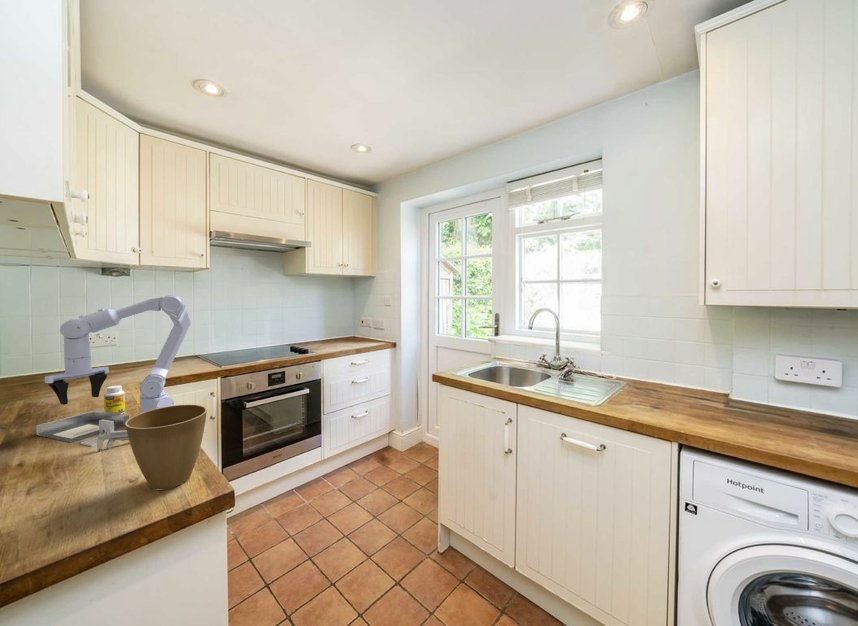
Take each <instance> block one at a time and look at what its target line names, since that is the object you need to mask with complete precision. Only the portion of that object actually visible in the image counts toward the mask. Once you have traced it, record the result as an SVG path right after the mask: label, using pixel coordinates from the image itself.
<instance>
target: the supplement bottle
mask: <svg viewBox="0 0 858 626" xmlns="http://www.w3.org/2000/svg"><path fill="white" fill-rule="evenodd" d="M122 388H123V387H122V385H111V386H108V387H106V392H105V393H103V401H104V402H103V403H104V404H103V405H104V407H103V408H104V411H106V412H113V413H119V414H123V413H124V414H125V413H126V392H125V391H124V390H123V389H122Z"/></svg>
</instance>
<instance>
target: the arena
mask: <svg viewBox="0 0 858 626" xmlns="http://www.w3.org/2000/svg"><path fill="white" fill-rule="evenodd" d="M102 419H103V420H109V421H114V430H116V429H118V428H121V427H122V428H123V427H126V426H125V422H126V421H127V420H128V419H130V417H129V414H125V413H124V414H119V413H113V412H106V411H105V410H99V409H95V410H91V411H87V412H82V413H78V414H75V415H71V416H67V417H64V418H60V419H56V420H52V421H49V422H45V423H40V424H36V425H35V431H36V436H37V435H38V436H37V437H41V436H43V437H42V438H46V437H47V438H46V439H50V438H51V439H52V440H55V439H56V441H60V440H61V442H65V441H66V442H65V443H70V444H71V443H74V441H75V442H77V441H81V440H85V439H87V438H90V437H94V436H97V435H99V420H102ZM51 439H50V440H51Z"/></svg>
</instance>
